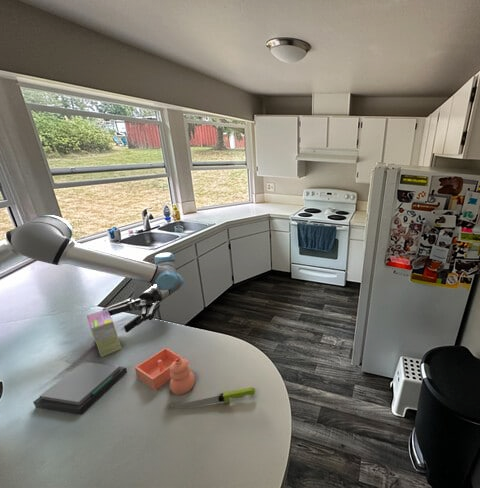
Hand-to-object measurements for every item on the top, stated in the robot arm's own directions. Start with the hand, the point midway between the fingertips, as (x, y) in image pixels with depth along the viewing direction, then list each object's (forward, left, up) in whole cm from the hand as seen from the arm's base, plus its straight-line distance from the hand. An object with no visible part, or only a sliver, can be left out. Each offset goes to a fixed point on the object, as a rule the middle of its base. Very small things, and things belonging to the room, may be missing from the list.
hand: (108, 327), depth 88 cm
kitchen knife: (+49, -17, -7) cm, 52 cm away
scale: (+9, -18, -7) cm, 21 cm away
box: (0, -2, -7) cm, 7 cm away
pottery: (+31, -11, -7) cm, 34 cm away
